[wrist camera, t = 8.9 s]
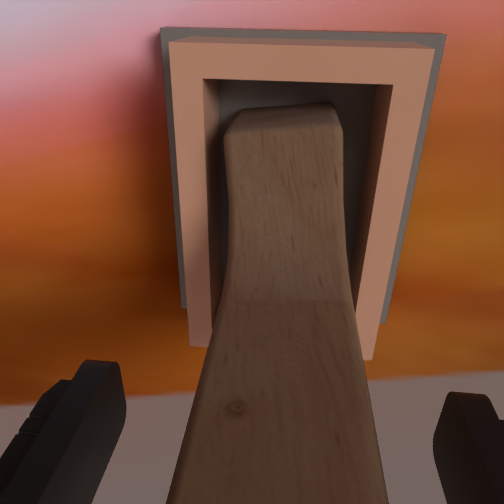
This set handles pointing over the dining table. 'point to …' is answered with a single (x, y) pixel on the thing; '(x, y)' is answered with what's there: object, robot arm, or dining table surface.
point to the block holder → (291, 93)
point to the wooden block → (283, 331)
